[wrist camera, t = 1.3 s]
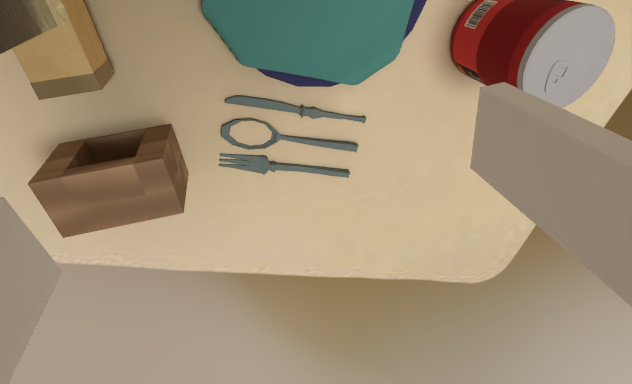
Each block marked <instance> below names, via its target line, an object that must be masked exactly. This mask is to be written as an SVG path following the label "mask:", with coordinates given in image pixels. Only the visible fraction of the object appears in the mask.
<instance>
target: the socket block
mask: <svg viewBox="0 0 632 384" xmlns="http://www.w3.org/2000/svg"><path fill="white" fill-rule="evenodd" d="M187 181H188V170H187V168H186V165H185V162H184V159H183V156H182V153H181V150H180V148H179V145H178V142H177V139H176V136H175V133H174V130H173V127H172V125H171V124H170V125H164V126H158V127H153V128H147V129H141V130H136V131H130V132H124V133H119V134H113V135H107V136H102V137H96V138H90V139H84V140H79V141H73V142H67V143H62V144H59V145H58V147H57V148H56V149H55V150H54V152H53V153H52V154H51V155H50V157H49V158H48V159H47V160H46V162H45V163H44V164H43V165H42V167H41V168H40V169H39V170H38V172H37V173H36V174H35V175H34V177H33V178H32V179H31V180H30V182H29V183H28V185H29V187H30V188H31V190H32V191H33V193H34V194H35V196H36V197H37V199H38V200H39V202H40V203H41V205H42V206H43V208H44V209H45V211H46V212H47V214H48V215H49V217H50V218H51V220H52V222H53V223H54V225H55V226H56V228H57V229H58V231H59V232H60V234H61V235H62V237H63V238H64V237H69V236H74V235H79V234H83V233H88V232H93V231H98V230H103V229H108V228H112V227H117V226H122V225H127V224H132V223H137V222H141V221H146V220H151V219H156V218H161V217H165V216H170V215H175V214H180V213H184V205H185V197H186V189H187Z"/></svg>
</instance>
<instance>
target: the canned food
mask: <svg viewBox="0 0 632 384" xmlns="http://www.w3.org/2000/svg"><path fill="white" fill-rule="evenodd" d="M614 42H615V25H614V21H613V19H612V16H611V15H610V14H609V13H608V12H607V10H605V9H603V8H601V7H598V6H595V5H592V4H586V3H581V2H575V1H568V0H476V1H475V2H474V3H473V4H471V5H470V6H469V7H468V8H467V10H466V11H465V12H464V13H463V15H462V16H461V18H460V19H459V21H458V23H457V25H456V27H455V30H454V33H453V37H452V43H451V51H452V56H453V59H454V61H455V63H456V65H457V67H458V68H459V69H460V70H461V72H463V73H464V74H465V75H467V76H469V77H471V78H473V79H475V80H477V81H479V82H481V83H483V84H485V85H487V86H489V85H493V84H498V83H502V82H505V83H508V84H510V85H512V86H514V87H516V88H518V89H521V90H523V91H525V92H527V93H529V94H531V95H534V96H536V97H538V98H540V99H542V100H544V101H547V102H549V103H551V104H553V105H555V106H557V107H560V108H563V107H565V106H567V105H569V104H571V103H573V102H574V101H575V100H577V99H578V98H580V97H581V96H582V95H583V94H584V93H585V92H586V91H587V90H588V89H589V88H590V87H591V86H592V85H593V84H594V83H595V82H596V80H597V79H598V77H599V76H600V75H601V73H602V72H603V70H604V68H605V66H606V64H607V63H608V61H609V58H610V55H611V53H612V50H613V46H614Z"/></svg>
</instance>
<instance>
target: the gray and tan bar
mask: <svg viewBox="0 0 632 384" xmlns="http://www.w3.org/2000/svg"><path fill="white" fill-rule="evenodd" d="M11 48H12V49H13V50H14V52H15V54H16V56H17V58H18V60H19V61H20V63H21V65H22V67H23V69H24V71H25V72H26V74H27V76H28V78H29V80H30V82H31V83H30V84H31V86H32V87H33V89H34V91H35V93H36V95H37V97H38V98H39V100H40V99H46V98H53V97H59V96H65V95H71V94H78V93H84V92H90V91H96V90H101V89H102V88H103V87H104V86H105V85H106V83H107V82H108V81H109V80H110V78H111V77H112V76H113V75H114V71H113V69H112V66H111V64H110V62H109V59H107V56H106V54H105V52H104V49H103V47H102V44H101V42H100V39H99V37H98V34H97V32H96V30H95V27H94V25H93V22H92V20H91V17H90V15H89V13H88V10H87V8H86V5H85V3H84V0H0V54H1V53H3V52H5V51H7V50H9V49H11Z"/></svg>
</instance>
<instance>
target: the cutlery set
mask: <svg viewBox="0 0 632 384" xmlns="http://www.w3.org/2000/svg"><path fill="white" fill-rule="evenodd" d="M426 1H427V0H203V14H204V16H205V18H206V19H207V20H208V21H209V22H210V23H211V25H212V26H213V28H214V30H215V31H216V32H217V33H218V34H219V35H220V37H221V39H222V40H223V41H224V42H225V43H226V44H227V46H228V48H229V50H230V51H231V52H232V53H233V54H234V55H235V57H236V60H237V61H239V62H240V63H241V64H242V65H245V66H248V67H252V68H256V69H258V70H259V71H261V72H262V73H263V74H265V75H266V76H269V77H272V78H275V79H278V80H280V81H283V82H286V83H289V84H292V85H295V86H321V87H330V86H333V85H336V84H340V83H342V84H348V85H357V84H359V83H361V82H362V81H364V80H365V79H367V78H368V77H370V76H371V75H373V74H374V73H376V72H377V71H379V70H380V69H382V68H383V67H384V66H386V65H387V64H389V63H390V62H392V61H393V60H394V59H395V58H396V57H397V55H398V54H399V51H400V48H401V46H402V42H403V40H404V39H405V38H406V37H407V36H408V34H409V33H410V32H411V31H412V30H413V27H414V25H415V23H416V21H417V19H418V17H419V15H420V13H421V11H422V9H423V7H424V5H425V3H426ZM225 103H231V104H238V105H245V106H252V107H259V108H266V109H273V110H280V111H287V112H294V113H300V115H301V118H302V117H303V116H309V117H311V118H312V119H313V118H320V117H327V118H336V119H348V120H353V121H359V122H363V123H365V120H366V117H365V116H363V117H357V116H347V115H341V114H337V113H331V112H324V111H322V110H320V109H317V108H315V107H311V108H307V107H304V106H303V104H302V105H301V107H297V106H295V105H291V104H288V103H284V102H280V101H275V100H269V99H263V98H256V97H249V96H241V95H237V96H232V97H229V98H227V99H225ZM241 121H256V122H259V123H262V124H265V125H266V126H267V127H268V128H269V129H270V130H271V131H272V136H271V140H269V141H267V142H266V143H264V144H263V145H253V146H249V145H246V144H242V143H239V142H237V141H236V140H235V139H234V138H232V137H231V136H230V135H229V133H230V127H231V126H233V125H235V124H237V123H239V122H241ZM221 136H222V137H223V138H224V139H226V140H227V141H228V142H229V143H231V144H232V145H235V146H238V147H242V148H245V149H263V148H267V147H269V146H271V145H272V144H274V143H276V142H278V141H279V140H280V139H281V140H287V141H292V142H297V143H303V144H309V145H314V146H320V147H327V148H333V149H340V150H346V151H354V152H356V151H357V148H358V144H357V143H350V142H337V141H327V140H316V139H309V138H301V137H292V136H285V135H280V134H278V133H277V132H276V131H275V130H274V129H273V128H272V127H271V126H270V125H269V124H266V123H263V122H260V121H258V120H255V119H249V120H234V121H232V122H230V123H228V124H226V125H224V126H222V132H221ZM220 156H224V157H231V158H237V159H220V161H223V162H231V163H237V164H242V165H237V164H219V166H222V167H231V168H237V169H242V170H247V171H252V172H257V173H262V174H265V173H266V172H267V171H268V170H270V171H272V172H275V170H284V171H300V172H309V173H317V174H324V175H330V176H339V177H347V178H349V174H350V172H349V170H348V169H336V168H327V167H320V166H310V165H300V164H284V163H276V162H275V161H269V160H268V158H267V156H264V155H259V156H257V155H240V154H220ZM238 159H242V160H238Z"/></svg>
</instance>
